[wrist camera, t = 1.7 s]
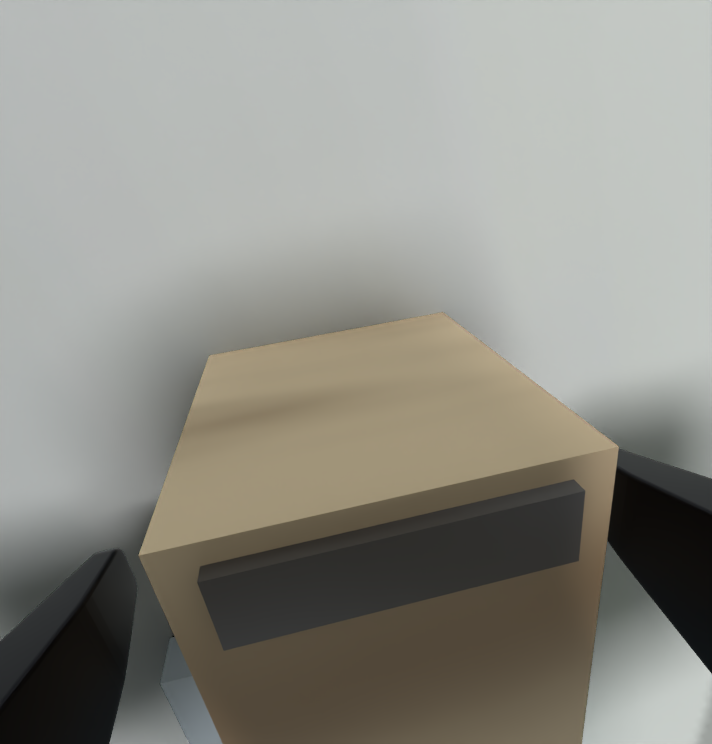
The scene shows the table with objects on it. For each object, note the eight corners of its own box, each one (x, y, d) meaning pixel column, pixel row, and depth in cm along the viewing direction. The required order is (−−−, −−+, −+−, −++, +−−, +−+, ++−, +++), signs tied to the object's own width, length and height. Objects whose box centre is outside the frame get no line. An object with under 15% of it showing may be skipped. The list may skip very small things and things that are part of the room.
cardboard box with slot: (454, 522, 12) (587, 772, 7) (270, 566, 12) (270, 870, 7) (441, 311, 10) (632, 456, 5) (209, 354, 9) (133, 572, 4)
